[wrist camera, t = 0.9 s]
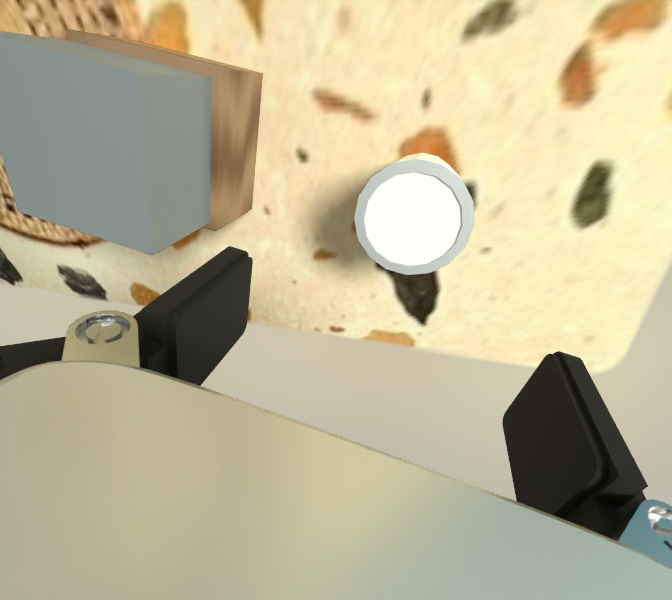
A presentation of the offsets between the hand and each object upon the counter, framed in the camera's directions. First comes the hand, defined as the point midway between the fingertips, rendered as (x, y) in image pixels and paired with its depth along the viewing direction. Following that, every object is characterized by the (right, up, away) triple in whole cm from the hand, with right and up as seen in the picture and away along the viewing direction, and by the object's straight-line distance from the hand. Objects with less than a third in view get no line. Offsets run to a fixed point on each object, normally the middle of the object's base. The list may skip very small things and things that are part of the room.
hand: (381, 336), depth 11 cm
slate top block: (-14, +12, +12) cm, 22 cm away
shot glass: (+5, +9, +15) cm, 19 cm away
